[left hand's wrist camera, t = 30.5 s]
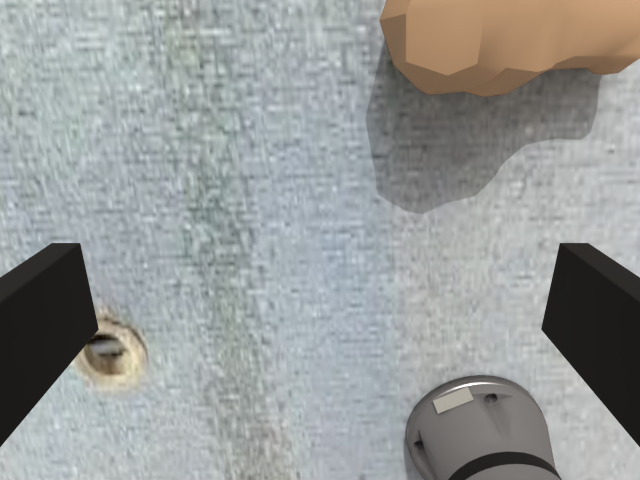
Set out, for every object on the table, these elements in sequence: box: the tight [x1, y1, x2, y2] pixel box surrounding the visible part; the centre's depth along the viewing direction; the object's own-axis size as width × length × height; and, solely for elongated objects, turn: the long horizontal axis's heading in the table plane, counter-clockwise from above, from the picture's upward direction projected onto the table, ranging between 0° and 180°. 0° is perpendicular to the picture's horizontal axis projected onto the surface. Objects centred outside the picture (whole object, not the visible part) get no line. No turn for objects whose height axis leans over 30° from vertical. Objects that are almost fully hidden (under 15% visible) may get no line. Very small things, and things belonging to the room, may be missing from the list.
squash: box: [380, 0, 640, 97], centre depth 32 cm, size 11×20×9 cm, turn 89°
